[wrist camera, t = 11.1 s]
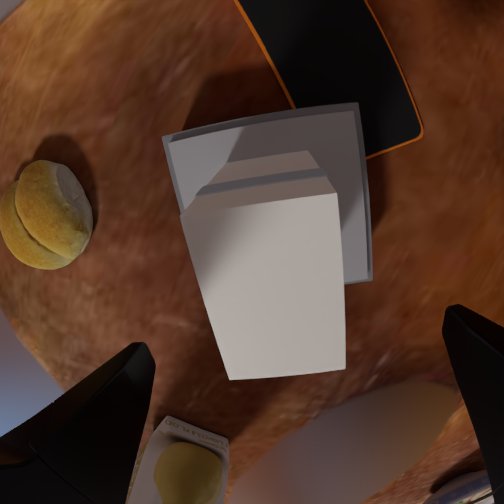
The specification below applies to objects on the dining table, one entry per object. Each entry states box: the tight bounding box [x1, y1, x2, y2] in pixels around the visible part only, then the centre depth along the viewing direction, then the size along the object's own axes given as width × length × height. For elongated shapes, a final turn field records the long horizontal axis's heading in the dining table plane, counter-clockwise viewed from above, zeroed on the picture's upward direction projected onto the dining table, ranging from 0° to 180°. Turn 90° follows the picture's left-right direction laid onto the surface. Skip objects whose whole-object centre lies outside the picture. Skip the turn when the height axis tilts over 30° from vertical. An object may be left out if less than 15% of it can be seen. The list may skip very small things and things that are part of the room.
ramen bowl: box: [423, 470, 494, 504], centre depth 36 cm, size 25×23×8 cm
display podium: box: [162, 102, 373, 285], centre depth 18 cm, size 10×10×4 cm
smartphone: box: [233, 0, 424, 160], centre depth 15 cm, size 8×17×1 cm, turn 26°
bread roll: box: [0, 160, 93, 269], centre depth 20 cm, size 8×9×4 cm
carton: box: [180, 150, 345, 380], centre depth 13 cm, size 4×6×8 cm
